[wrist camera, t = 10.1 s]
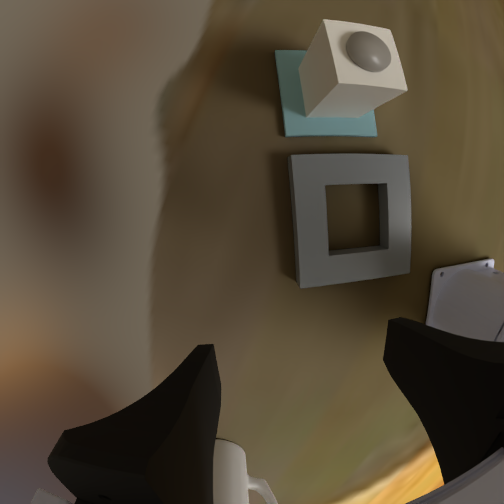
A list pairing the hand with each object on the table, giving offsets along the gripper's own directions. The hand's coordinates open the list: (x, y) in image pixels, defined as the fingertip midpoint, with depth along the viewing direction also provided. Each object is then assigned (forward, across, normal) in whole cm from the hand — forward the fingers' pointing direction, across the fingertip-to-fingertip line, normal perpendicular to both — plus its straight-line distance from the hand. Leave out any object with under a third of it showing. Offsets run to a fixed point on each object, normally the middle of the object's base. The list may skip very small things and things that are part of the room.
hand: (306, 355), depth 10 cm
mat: (+10, -5, -14) cm, 18 cm away
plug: (+10, -5, -13) cm, 17 cm away
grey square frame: (+10, -6, -4) cm, 13 cm away
